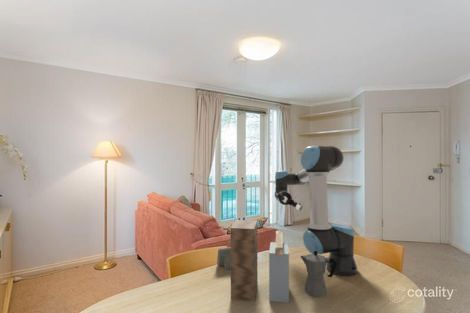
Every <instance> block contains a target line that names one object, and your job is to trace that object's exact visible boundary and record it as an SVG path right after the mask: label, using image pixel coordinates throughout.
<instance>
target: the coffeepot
mask: <svg viewBox="0 0 470 313" xmlns="http://www.w3.org/2000/svg"><path fill="white" fill-rule="evenodd" d="M317 253H318V252H317V251H314V254H312V253H309V254H306V255H301V256H300V259H301V260H302V261H303V262H304V265H305V268H306V272H307V276H306V282H305V286H304V290H305V292H306V294H308V295H309V296H312V297H317V298H318V297H323V296H325V295H326V294H327V293H328V292H327V287H326V286H327V285H326V282H325V277H324V275H325V273H326V269H327V268H326V263H333V265H332V269H331V271H329V274H326V277H327V278H333V275H334V271H335V268H336V266H337V262H336V261H335V260H334V259H333V258H328V257H325V256H324V255H322V254H317Z"/></svg>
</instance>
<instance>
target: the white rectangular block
mask: <svg viewBox="0 0 470 313" xmlns="http://www.w3.org/2000/svg"><path fill="white" fill-rule="evenodd" d="M269 243H270V244H269V252H268V268H269V269H268V275H269V276H268V282H269V284H268V287H269V288H268V290H269V291H268V292H269V293H268V299H269V300H268V302H275V303H290V274H289V273H290V250H289V243H288V242H283V255H275V243H276V241H272V242H269Z"/></svg>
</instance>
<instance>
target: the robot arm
mask: <svg viewBox="0 0 470 313" xmlns="http://www.w3.org/2000/svg"><path fill="white" fill-rule="evenodd" d="M343 163H344V153H343V152H342V150H341V149H340V148H338V147H336V146H332V145H329V146H325V145H312V146H307V147H305V148H304V149H303V151H302V153H301V155H300V165H301V167H302V168H303V169H302V170H300V171H298V172H297V173H294V172H293V173H288V171H287V170H277V171H275V173H274V174H275V178H274V179H275V190H274V197H275V199H276V200H277V201H278V202H279V204H281V205H283V206H288V205H289V206H292V207H293V208H295V209H296V210H297V211H300V212H301V211H302V209H303V205H302V204H301V203H300V202H299V203H298V202H296V201H295V200H294V199H293V197H292V195H291V193H289V192H288V186H303V185H307V184H308V183H309V184H308V185H309V186H308V189H309V214H310V220H309V221H310V222H309V224H308V225H307V230H306V231H304V232H303V234H302V241H303V244H304V246H305V248H306V250H307V251H308V253H309V254H314V251H317V252H318V253H317V254H318V255H324V254H329V255H328V257H327V258H333V259H334V260H335V261H336V262H337V266H336V268H335V271H334V274H335V275H339V276H345V277H346V276H347V277H349V276H355V275H356V274H357V273H358V266H357V262H356V260H355V256H354V252H355V251H354V248H355V247H354V244H355V243H354V242H355V241H354V240H355V236H354V229H353V228H352V227H350V226H347V225H345V224H341V223H340V224H339V223H331V224H330V223H329V211H328V210H329V208H328V183H327V180H328V178H327V176H328V175H329V174H330V172H332V171H334V170H336V169H337V168H339V167H341V166H342V164H343ZM332 265H333V263H326V268H325V269H327V271H328V272H330V271H331V269H332ZM334 274H333V275H334Z"/></svg>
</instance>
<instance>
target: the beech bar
mask: <svg viewBox="0 0 470 313" xmlns="http://www.w3.org/2000/svg"><path fill="white" fill-rule="evenodd" d="M283 238H284V236H283V230H275V242H276V243H275V255H283V243H284V241H283V240H284V239H283Z"/></svg>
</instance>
